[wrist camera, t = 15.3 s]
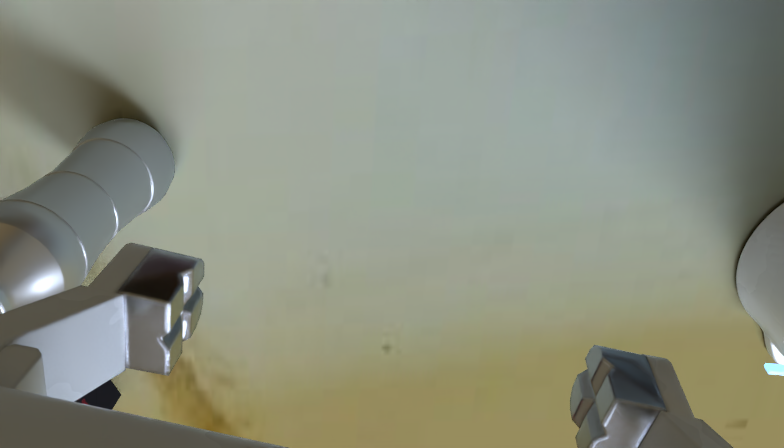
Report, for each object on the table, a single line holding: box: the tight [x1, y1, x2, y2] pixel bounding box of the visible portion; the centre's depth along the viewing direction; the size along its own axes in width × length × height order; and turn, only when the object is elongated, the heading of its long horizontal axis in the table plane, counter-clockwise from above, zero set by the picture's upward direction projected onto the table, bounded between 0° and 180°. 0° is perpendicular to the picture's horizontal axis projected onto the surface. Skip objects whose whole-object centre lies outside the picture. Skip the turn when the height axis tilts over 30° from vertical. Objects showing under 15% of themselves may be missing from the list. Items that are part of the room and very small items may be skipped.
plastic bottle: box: [0, 118, 175, 314], centre depth 37 cm, size 6×7×20 cm
